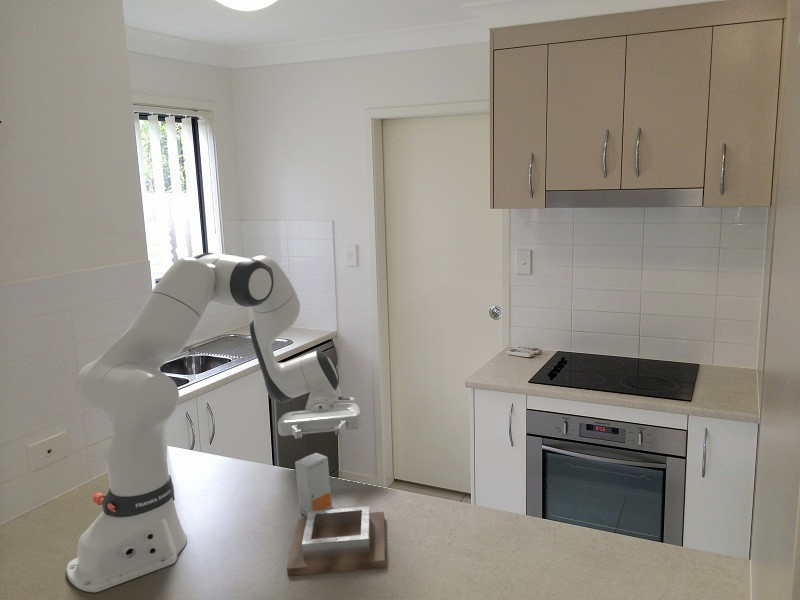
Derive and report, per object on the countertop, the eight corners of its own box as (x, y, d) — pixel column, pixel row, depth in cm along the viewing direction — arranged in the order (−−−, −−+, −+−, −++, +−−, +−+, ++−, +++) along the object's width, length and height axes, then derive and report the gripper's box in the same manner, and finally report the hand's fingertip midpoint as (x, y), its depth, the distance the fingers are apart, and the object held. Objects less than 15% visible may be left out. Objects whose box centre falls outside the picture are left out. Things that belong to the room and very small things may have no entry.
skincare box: (311, 518, 144) (306, 466, 142) (299, 512, 147) (293, 461, 145) (333, 507, 149) (328, 456, 146) (321, 501, 152) (315, 451, 149)
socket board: (287, 575, 124) (285, 553, 124) (298, 525, 142) (296, 505, 141) (385, 567, 125) (383, 545, 124) (384, 518, 142) (382, 498, 141)
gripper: (280, 404, 170) (271, 425, 157) (360, 396, 171) (359, 417, 157) (283, 427, 172) (275, 450, 158) (363, 420, 172) (362, 442, 158)
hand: (317, 433), depth 158 cm, fingers open, 8 cm apart
